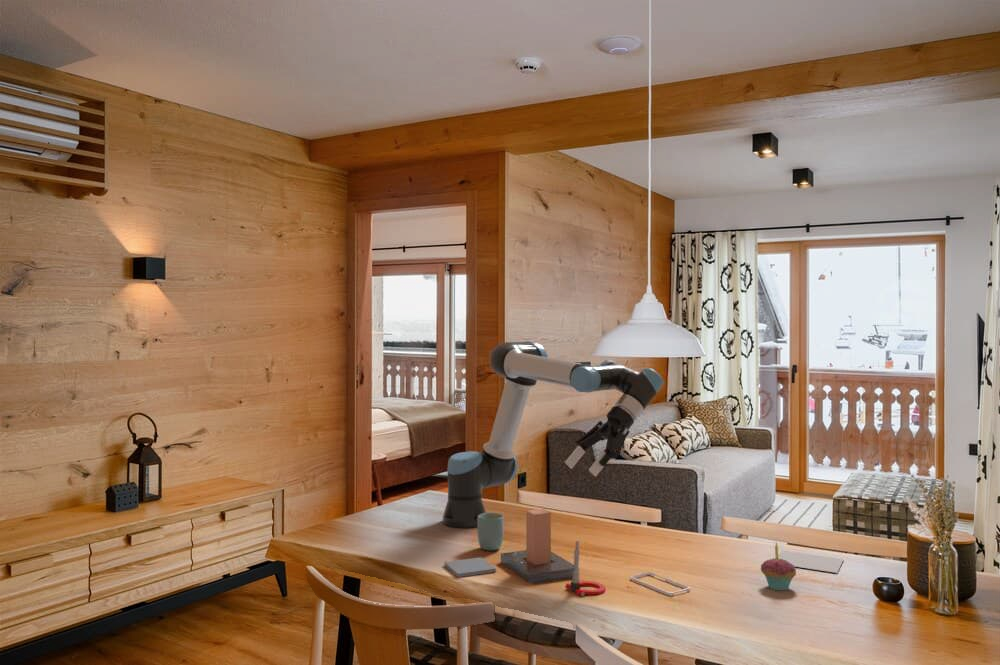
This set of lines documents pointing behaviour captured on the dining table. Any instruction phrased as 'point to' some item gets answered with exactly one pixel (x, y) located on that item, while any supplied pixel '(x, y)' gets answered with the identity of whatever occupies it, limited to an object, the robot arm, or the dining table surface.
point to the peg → (538, 536)
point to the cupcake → (778, 572)
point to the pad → (469, 567)
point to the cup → (490, 530)
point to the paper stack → (811, 561)
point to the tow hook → (576, 584)
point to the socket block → (538, 567)
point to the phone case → (657, 587)
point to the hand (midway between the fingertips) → (579, 469)
